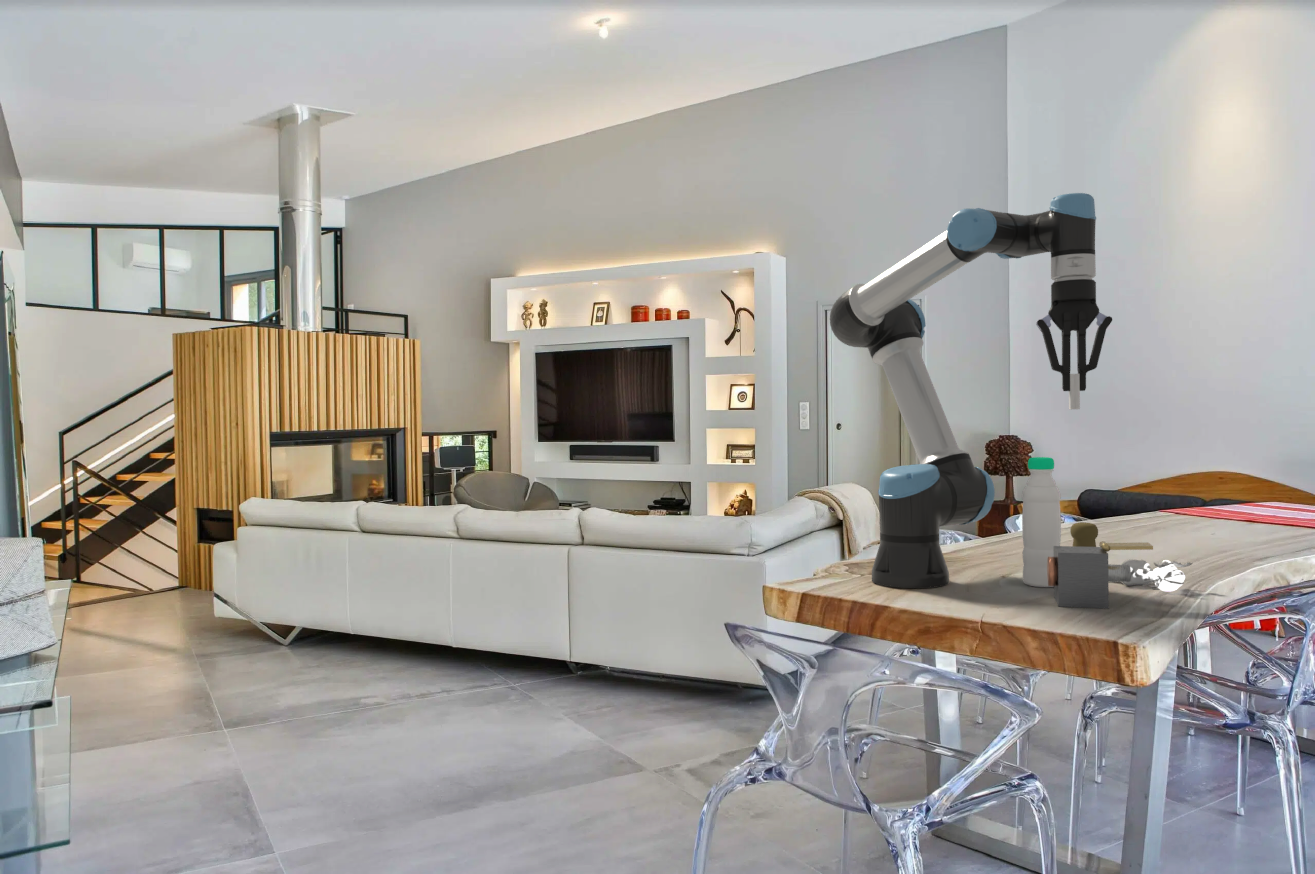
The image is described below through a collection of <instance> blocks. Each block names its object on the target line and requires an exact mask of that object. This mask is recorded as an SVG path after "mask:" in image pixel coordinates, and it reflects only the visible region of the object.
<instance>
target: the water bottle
mask: <svg viewBox="0 0 1315 874" xmlns="http://www.w3.org/2000/svg"><path fill="white" fill-rule="evenodd" d="M1054 468H1055V460H1054V459H1053V458H1052V457H1049V456H1048V457H1046V456H1042V457H1041V456H1037V457H1036V456H1034V457H1030V458H1029V459H1028V460H1027V469H1028V472H1029V473H1030V476H1029V478H1028V480H1027V482H1026V484H1025V486H1024V488H1023V490H1022V493H1021V499H1022V502H1023V503H1022V513H1021V515H1022V516H1021V517H1022V519H1021V521H1022V527H1021V528H1022V531H1021V532H1022V542H1023V549H1022V562H1023V566H1022V582H1023V583H1024V584H1025V585H1026V586H1029V587H1036V588H1054V586H1048V580H1047V558H1048V557H1054V546H1061V541H1062V540H1061V537H1062V535H1061V533H1062V519H1061V503H1060V502H1061V498H1062V497H1061V492H1060V489H1059V488H1058V486H1057V484H1056V481H1055V479H1054V478H1053V476H1052V473H1053V472H1054Z"/></svg>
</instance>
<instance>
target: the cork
mask: <svg viewBox="0 0 1315 874" xmlns="http://www.w3.org/2000/svg"><path fill="white" fill-rule="evenodd" d="M1070 535H1071V538H1072V539H1073V540H1072V546H1076V547H1097V543H1096V540H1097V537H1098V536H1099V529H1098V526H1097V525H1096V524H1095V523H1091V522H1083V521H1082V522H1075V523H1073V524H1072V525H1071V526H1070Z"/></svg>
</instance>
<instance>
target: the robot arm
mask: <svg viewBox="0 0 1315 874" xmlns="http://www.w3.org/2000/svg"><path fill="white" fill-rule="evenodd" d="M1095 205H1096V204H1095V199H1094V196H1092V194H1089V193H1086V192H1085V193H1083V192H1072V193H1065V194H1060V195H1057V196H1055V197H1053V198H1051V200H1050V205H1049V210H1047V211H1043V212H1039V213H1038V212H1037V213H1033V214H1028V215H1027V214H1026V215H1023V214H1016V213H1009V212H1002V211H994V210H990V209H984V208H980V207H977V208H963V209H960V210H958V211H956V213H954V214H953V215H952V218H951V220H950V221H949V222H948V225H947V229H946V230H945V231H943V232H942V233H941V234H939V235H937V236H936V237H934V238H933V239H931V240H929V241H928V242H927V243H925V244H924V245H922V246H921V247H919V248H918V249H916V250H915V251H913V252H911V254H909V255H907V256H905V257H904V258H903V259H901V260H900V261H898V262H897V263H895V264H893V265H892V266H891V267H889V268H888V269H886V270H884V271H883V272H882V273H880V274H879V275H877V276H875V278H873V279H871V280H870V281H868V282H867V283H866V284H865V283H857V284H855V285H853V286H852V287H851V288H849V289H848V290H846V291H844V292H843V293H842V294H841V295H840V296H839V297H837V299H836V300H835V302H834V303H833V305H832V308H831V310H830V313H829V326H830V329H831V331H832V333H833V335H834V336H835V337H836V338H837V340H838V341H840V342H841V343H842V344H844V345H846V346H849V347H853V348H864V349H865V348H867V349H868V351H869V354H870V357H871V359H872V363H874V364H875V365H878V366H881V367H882V368H883V371H884V374H885V376H886V379H887V381H888V383H889V386H890V390H891V393H892V394H893V397H894V399H895V402H896V405H897V407H898V410H899V413H900V415H901V417H902V420H903V423H904V426H905V428H906V431H907V433H908V437H909V439H910V441H911V444H912V446H913V448H914V449H913V450H914V451H915V454H916V457H917V459H918V462H919V464H918V463H916V464H909V465H905V464H904V465H898V466H894V467H891V468H888V469H886V470H884V471H882V473H881V474H880V476H879V486H878V491H877V492H878V506H879V507H878V509H879V511H878V512H879V513H878V514H879V546H878V550H877V553H876V556H875V559H874V562H873V565H872V569H871V581H872V583H874V584H876V585H879V586H885V587H891V588H898V589H899V588H902V589H930V588H939V587H944V586H946V585H949V584H950V573H949V572H950V571H949V569H948V565H947V562H946V560H945V557H944V554H943V550H942V548H941V544H940V527H947V526H948V527H949V526H955V525H961V526H962V525H963V526H965V525H969V524H970V523H975V522H978V521H980V520H982V519H983V518H985V517H986V516H987V515H988V514H989V512H990V511H991V509H992V505H993V503H994V501H995V496H996V495H995V493H996V492H995V485H994V481H993V480H992V479H993V478H992V477H991V475H989V473H988V472H987V471H986V470H983V469H982V468H980V467H978V466H975V465H974V463H973V460H972V458H971V456H970V454H969V452H968V451H966V450H962V449H961V448H959V445H958V443H957V441H956V438H955V436H954V433H953V431H952V429H951V426H950V424H949V422H948V418H947V416H946V414H945V411H944V409H943V406H942V404H941V401H940V398H939V396H938V394H937V392H936V389H935V387H934V384H933V381H932V379H931V376H930V374H929V372H928V369H927V367H926V364H925V362H924V359H923V357H922V354H921V352H920V351H921V350H922V348H923V346H924V340H923V338H924V336H925V333H926V331H925V328H926V324H927V323H926V318H925V315H924V313H923V310H922V309H921V307H920V305H918V304H917V303H916V302H915V301H914V300H913V299H912V298H914V297H916V296H917V295H919V294H920V293H921V292H923V291H925V290H927V289H928V288H930V287H931V286H933V285H935V284H936V283H938V282H939V281H942V279H944V278H946V277H948V276H949V275H951V274H952V273H955V272H956V271H957V270H959V269H960V268H962V267H964V266H965V265H967V264H968V263H970V262H972V261H974V260H976V259H978V258H980V257H981V256H982V255H984V254H987V253H989V254H990V253H991V254H992V253H993V254H996V255H997V256H998V257H999V258H1000V259H1004V260H1008V259H1021V258H1024V257H1028V256H1034V255H1039V254H1044V253H1050V279H1051V280H1052V281H1053V282H1052V284H1051V285H1050V293H1051V295H1050V298H1051V299H1050V300H1051V302H1050V304H1051V305H1050V308H1049V310H1048V314H1047V315H1045V316H1044V317H1043V318H1041V319H1038V320H1036V323H1035V325H1036V327H1037V328H1038V330H1039V331H1040V332H1041V333H1042V337H1043V340H1044V341H1043V342H1044V345H1045V348H1046V352H1047V355H1048V360H1049V364H1050V367H1051V370H1052V371H1055V372H1058V373H1060V374H1061V376H1062V377H1061V380H1062V381H1061V382H1062V387H1061V388H1062V391H1063V392H1068V410H1080V408H1081V407H1080V406H1081V397H1080V392H1085V391H1086V389H1087V373H1088V372H1090V371H1093V370H1096V368H1097V367H1098V363H1099V359H1100V355H1101V352H1102V347H1103V343H1104V340H1105V336H1106V331H1107V329H1108V327H1109V326H1110V325H1111V323H1112V322H1113V317H1112V316H1110V315H1109V316H1108V315H1105V314H1104V313H1102V312H1101V311H1100V308H1099V306H1098V304H1097V282H1096V281H1095V280H1094V279H1093V278H1095V277H1096V275H1097V273H1096V220H1097V216H1096V206H1095ZM1095 319H1096V326H1098V327H1097V330H1096V332H1095V337H1094V341H1093V345H1092V347H1091V348H1092V349H1091V352H1090V357H1089V360H1088V364H1087V329H1088V328H1089V327H1090V326H1091V325H1092V324H1093V322H1094V321H1095ZM1051 321H1052V322H1053V323H1054V325H1056V327H1057V328H1058V329H1059V330H1060V331H1061V364H1060V362H1059V358H1058V354H1057V352H1056V347H1055V344H1054V343H1055V342H1054V339H1053V335H1052V333H1051V330H1050V328H1051V326H1052V323H1051ZM1074 331H1075V332H1076V350H1077V351H1076V358H1077V360H1076V361H1077V362H1076V364H1077V373H1071V336H1072V335H1071V334H1072V332H1074Z"/></svg>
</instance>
